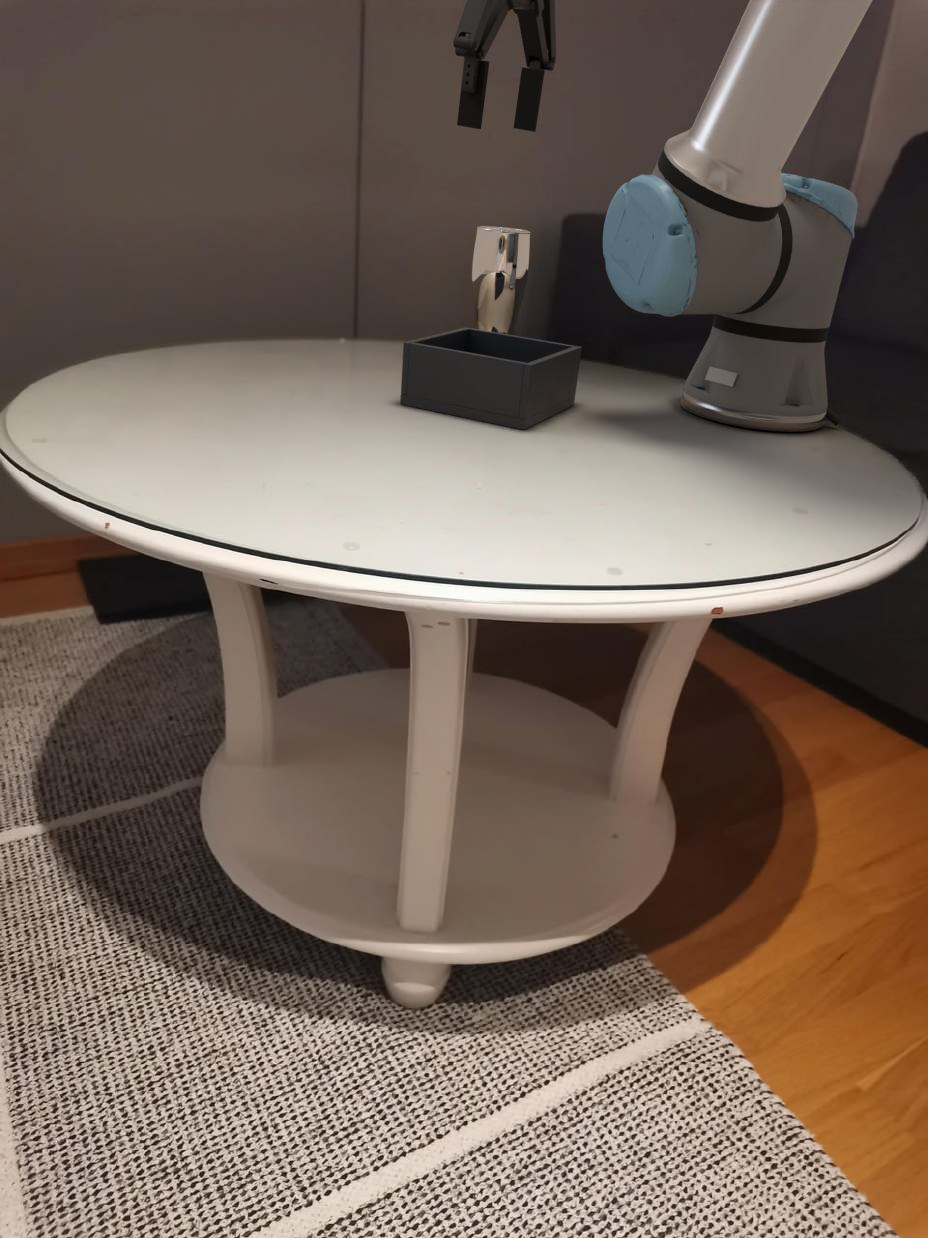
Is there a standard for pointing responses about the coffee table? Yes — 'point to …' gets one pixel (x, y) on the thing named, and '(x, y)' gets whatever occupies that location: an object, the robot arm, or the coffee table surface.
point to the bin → (490, 376)
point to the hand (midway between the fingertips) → (497, 128)
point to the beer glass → (499, 277)
